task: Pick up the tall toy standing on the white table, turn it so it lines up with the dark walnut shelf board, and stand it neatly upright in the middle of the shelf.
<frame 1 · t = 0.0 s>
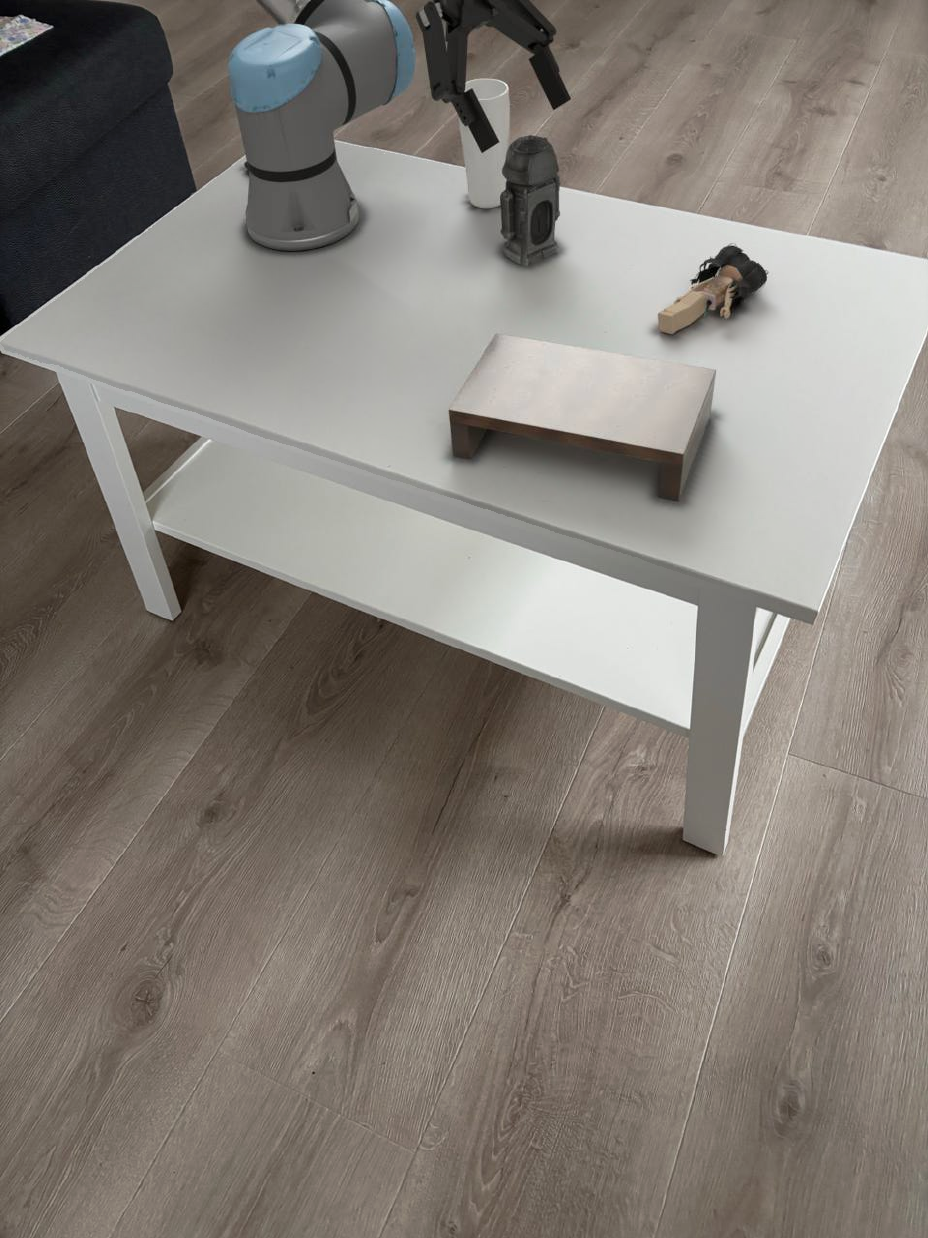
hand: (527, 125, 130), 15 cm above the table, tool tilted 35°, fingers open, 13 cm apart
toy: (529, 252, 140), on the table
drinking glass: (488, 201, 150), on the table
shelf: (582, 436, 115), on the table
toy figure: (711, 310, 129), on the table
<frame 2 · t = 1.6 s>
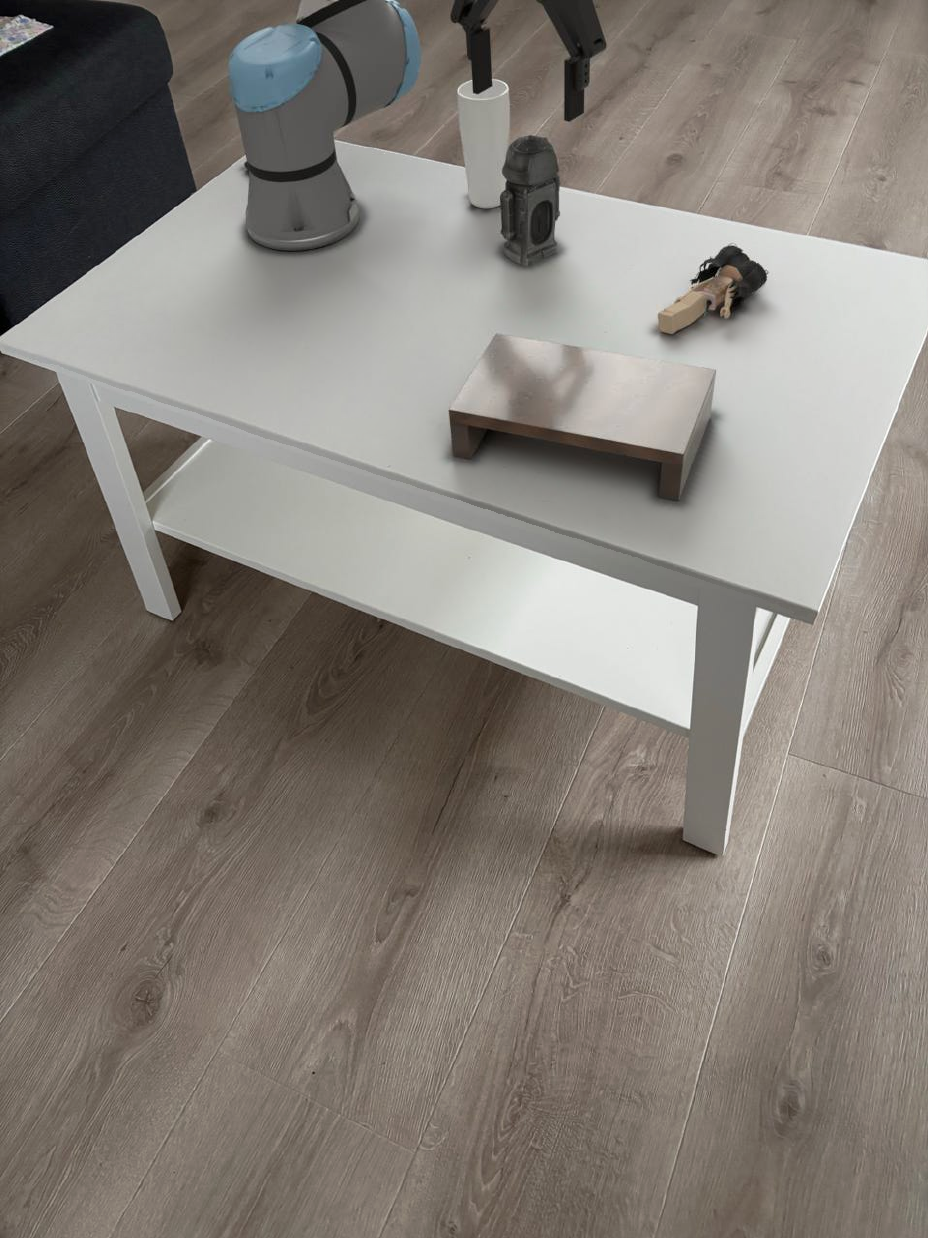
hand: (527, 103, 126), 19 cm above the table, tool pointing down, fingers open, 13 cm apart
nothing on the table moved.
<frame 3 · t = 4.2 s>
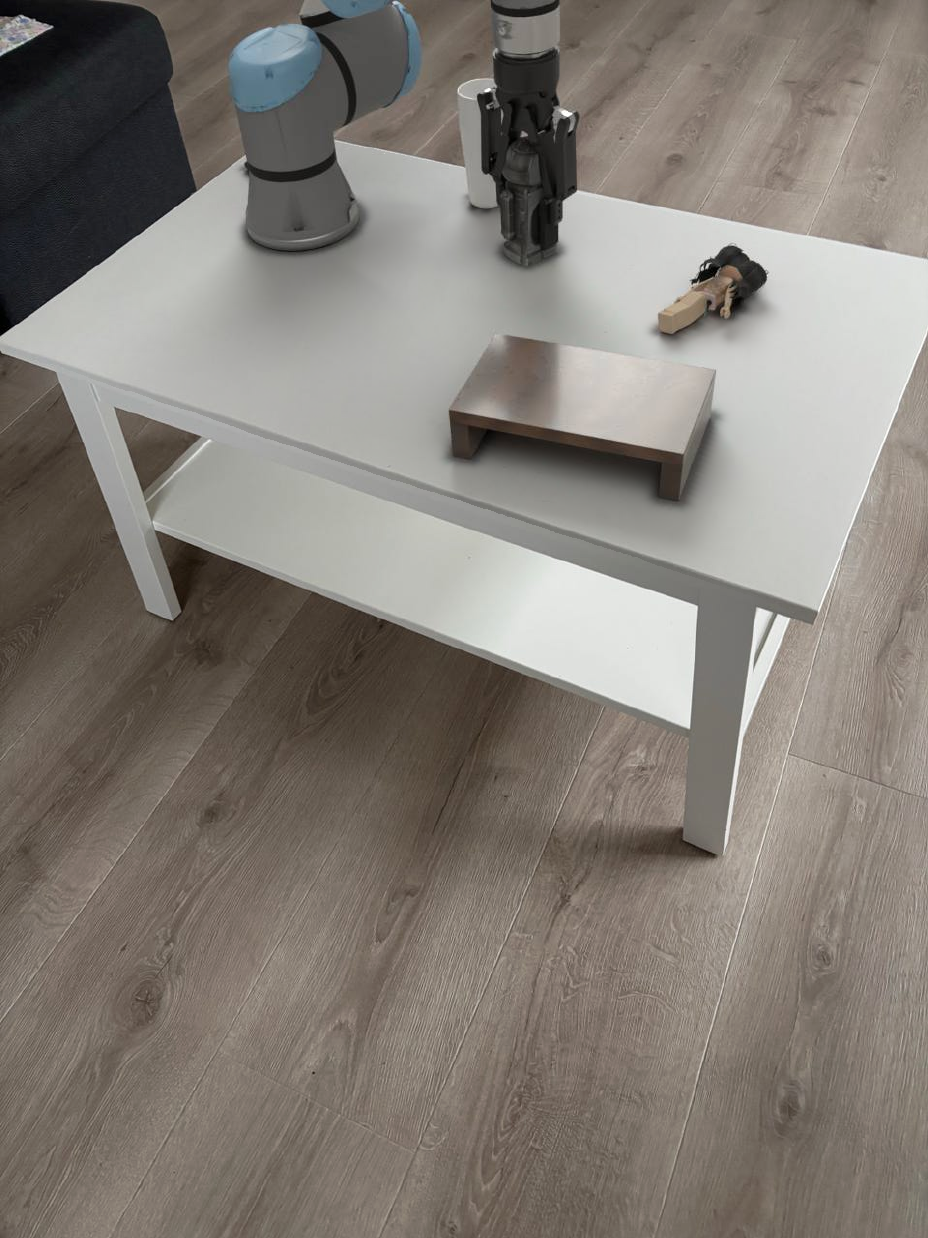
hand: (529, 237, 139), 2 cm above the table, tool pointing down, fingers closed on toy, 6 cm apart
toy: (529, 252, 140), on the table, touching gripper
everything else where it was.
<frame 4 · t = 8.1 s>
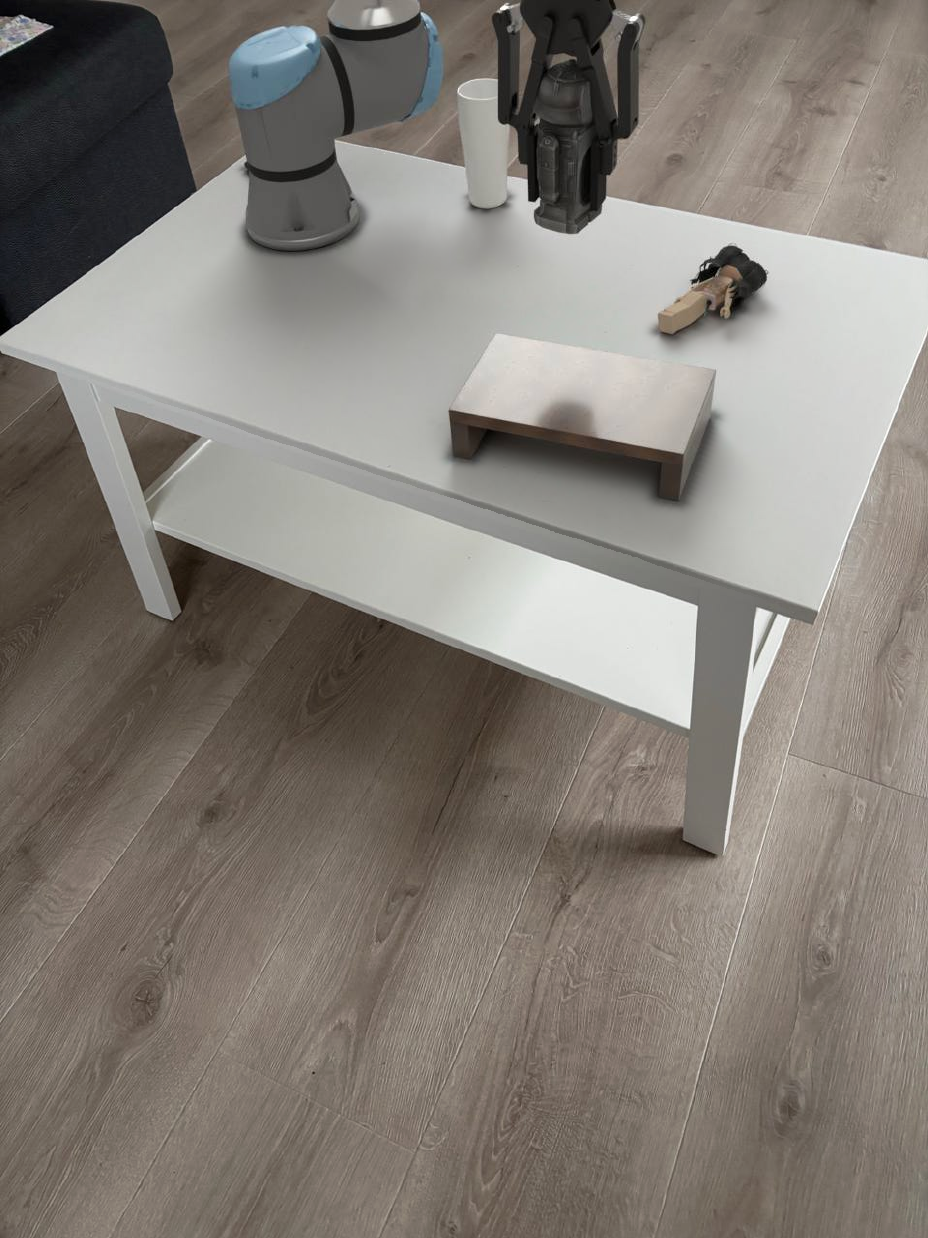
hand: (566, 199, 107), 20 cm above the table, tool pointing down, fingers closed on toy, 6 cm apart
toy: (567, 218, 109), point 18 cm above the table, touching gripper
everything else where it was.
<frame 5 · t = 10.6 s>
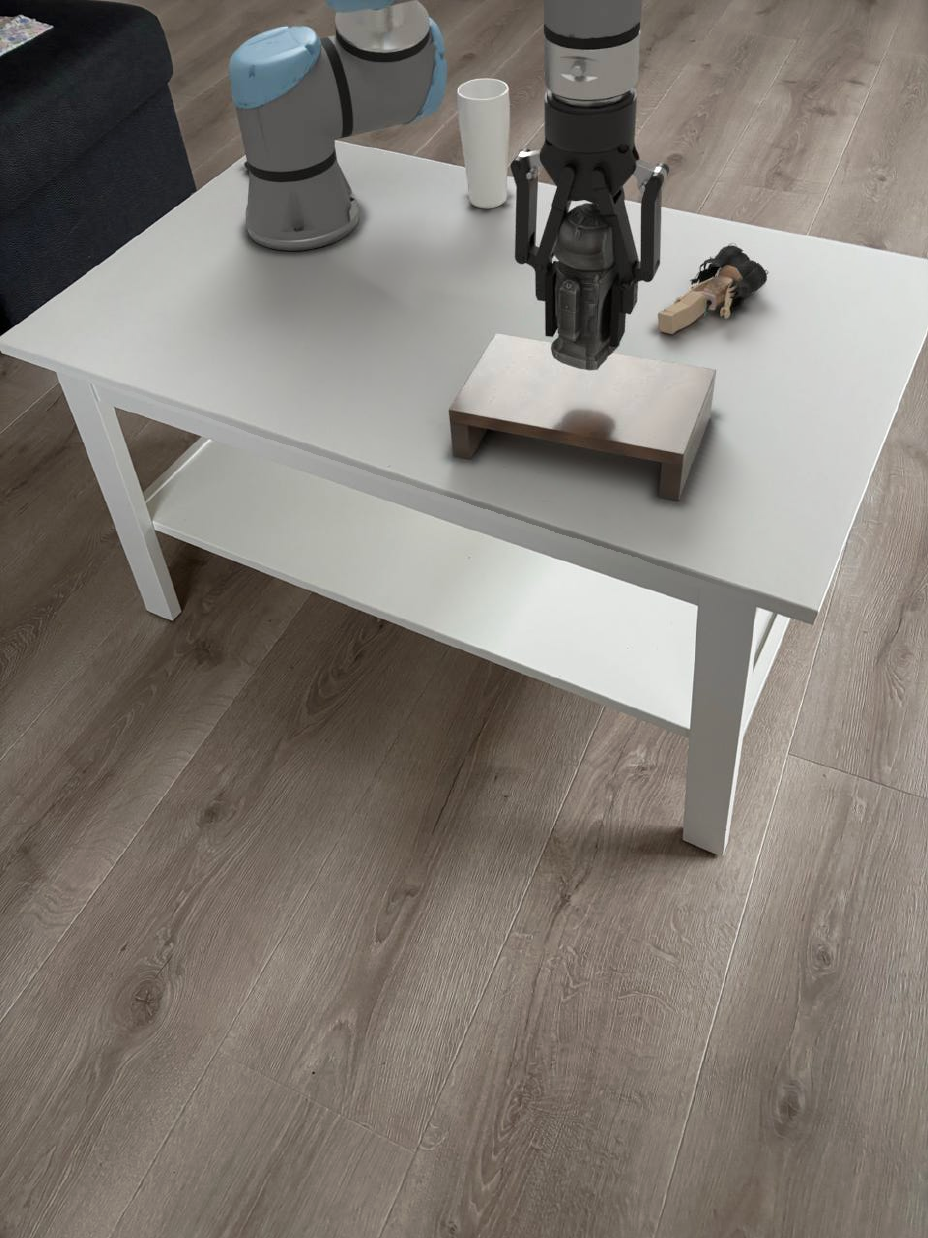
hand: (584, 333, 105), 13 cm above the table, tool pointing down, fingers closed on toy, 6 cm apart
toy: (584, 350, 107), point 11 cm above the table, touching gripper
everything else where it was.
when the fingers open (8 cm above the table, at t = 12.2 s): toy stays where it is, resting on shelf.
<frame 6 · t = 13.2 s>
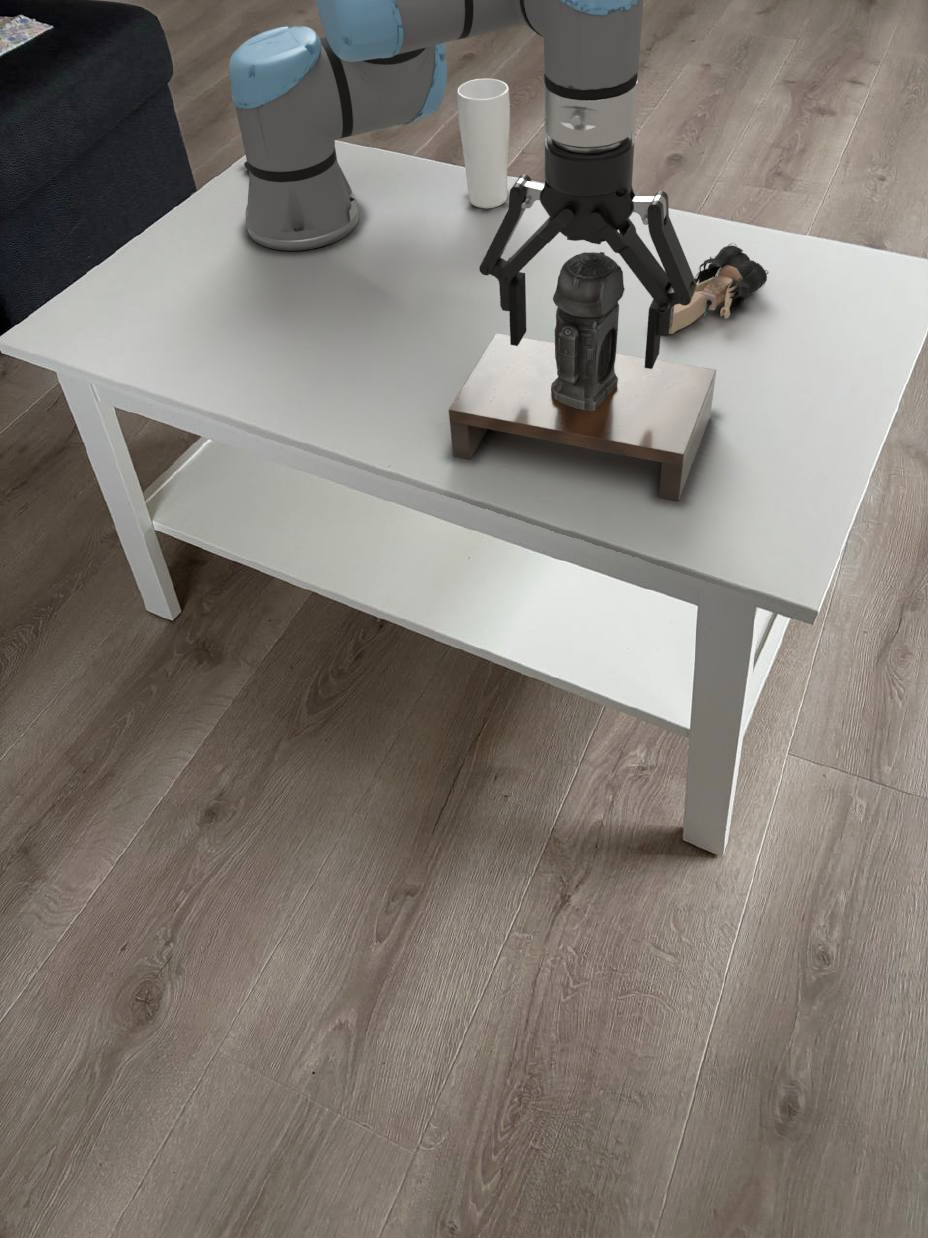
hand: (583, 349, 107), 11 cm above the table, tool pointing down, fingers open, 13 cm apart
toy: (583, 390, 110), point 6 cm above the table, touching shelf
everything else where it was.
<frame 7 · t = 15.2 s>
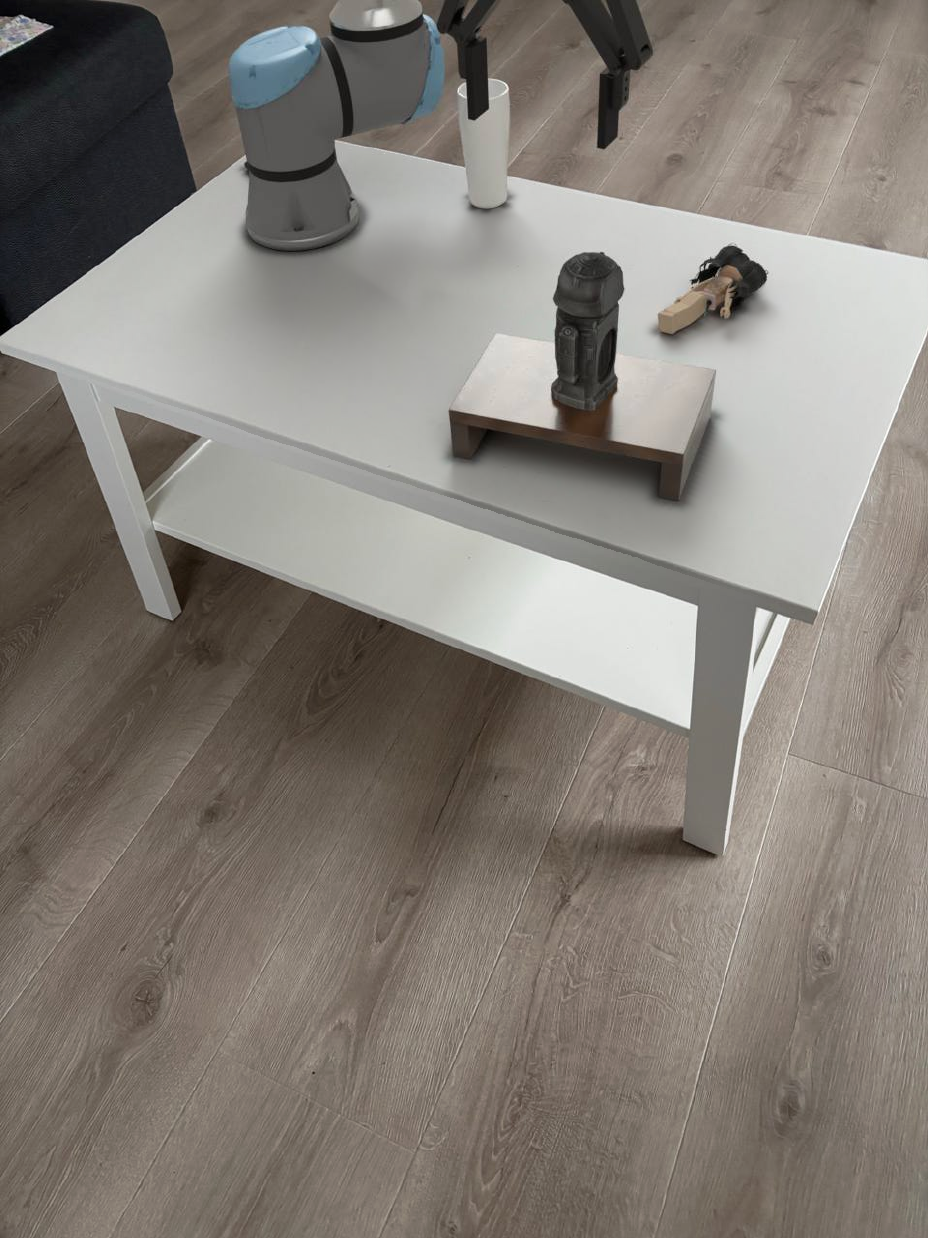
hand: (541, 128, 101), 28 cm above the table, tool pointing down, fingers open, 13 cm apart
nothing on the table moved.
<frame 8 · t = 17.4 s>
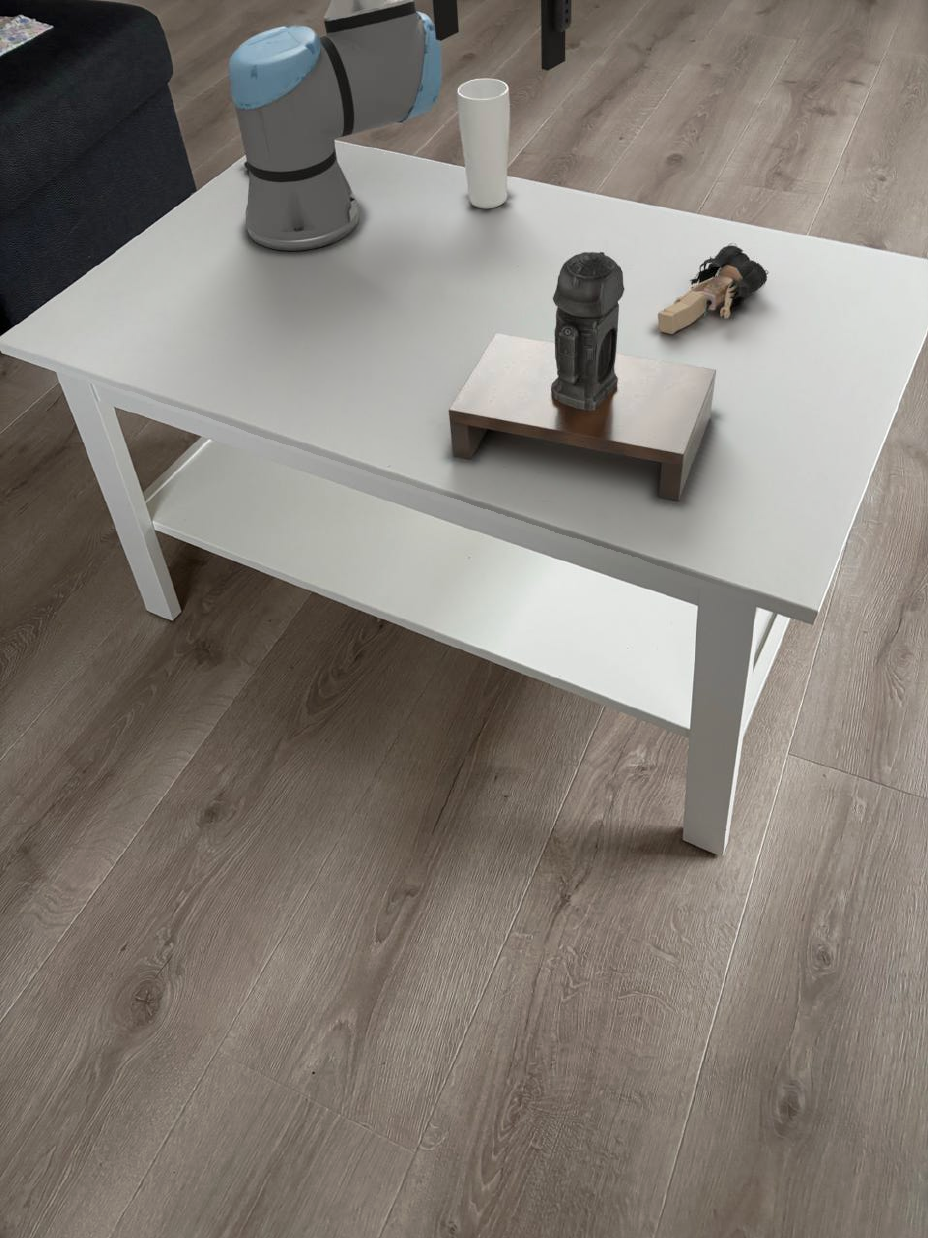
hand: (498, 50, 107), 31 cm above the table, tool pointing down, fingers open, 13 cm apart
nothing on the table moved.
at the end: toy inside the target area on the shelf (0.0 cm from its centre), point 5.8 cm above the shelf's base; toy tilted 0° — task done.
